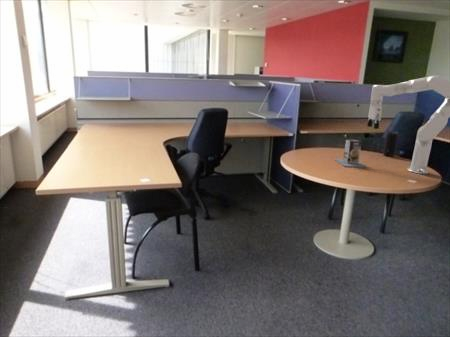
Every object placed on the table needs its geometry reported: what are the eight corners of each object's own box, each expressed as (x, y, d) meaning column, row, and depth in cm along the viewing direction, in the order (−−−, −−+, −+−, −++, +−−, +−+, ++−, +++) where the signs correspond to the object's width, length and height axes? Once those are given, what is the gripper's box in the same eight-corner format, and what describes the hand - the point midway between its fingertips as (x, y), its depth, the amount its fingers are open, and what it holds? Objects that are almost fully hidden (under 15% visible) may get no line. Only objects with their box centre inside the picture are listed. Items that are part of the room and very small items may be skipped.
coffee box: (347, 163, 245) (351, 141, 240) (342, 161, 251) (345, 139, 246) (358, 163, 247) (362, 141, 243) (353, 161, 253) (356, 139, 249)
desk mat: (366, 167, 240) (367, 166, 240) (344, 166, 239) (344, 165, 239) (355, 160, 259) (355, 159, 259) (334, 159, 259) (334, 158, 258)
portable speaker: (389, 157, 276) (394, 133, 270) (379, 154, 283) (384, 131, 278) (396, 156, 279) (401, 132, 274) (386, 154, 287) (391, 130, 282)
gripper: (387, 104, 232) (384, 129, 237) (375, 102, 249) (372, 125, 254) (376, 104, 232) (373, 129, 236) (365, 102, 249) (362, 125, 253)
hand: (372, 127), depth 245 cm, fingers open, 9 cm apart
